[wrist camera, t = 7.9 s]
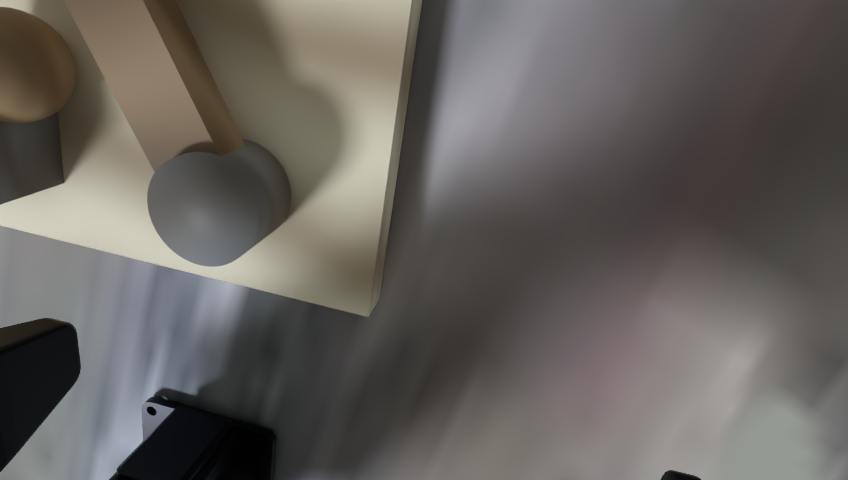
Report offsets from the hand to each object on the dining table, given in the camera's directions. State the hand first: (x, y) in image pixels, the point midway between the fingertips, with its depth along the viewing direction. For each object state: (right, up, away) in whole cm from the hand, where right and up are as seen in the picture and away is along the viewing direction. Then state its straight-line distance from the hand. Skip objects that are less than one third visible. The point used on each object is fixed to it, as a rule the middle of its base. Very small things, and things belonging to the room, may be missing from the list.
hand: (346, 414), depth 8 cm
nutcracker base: (-9, +12, +12) cm, 19 cm away
